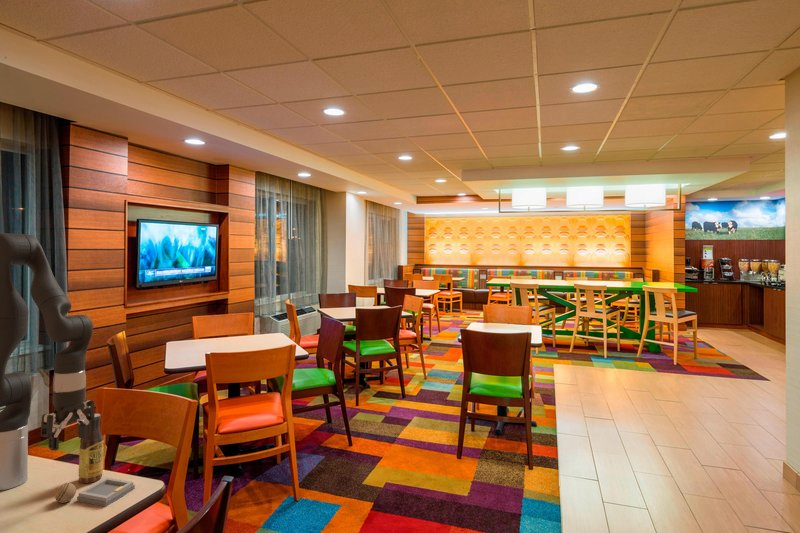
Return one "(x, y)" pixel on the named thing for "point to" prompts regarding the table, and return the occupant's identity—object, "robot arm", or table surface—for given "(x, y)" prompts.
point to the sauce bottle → (91, 453)
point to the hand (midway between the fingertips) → (68, 443)
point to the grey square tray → (105, 491)
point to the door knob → (65, 493)
